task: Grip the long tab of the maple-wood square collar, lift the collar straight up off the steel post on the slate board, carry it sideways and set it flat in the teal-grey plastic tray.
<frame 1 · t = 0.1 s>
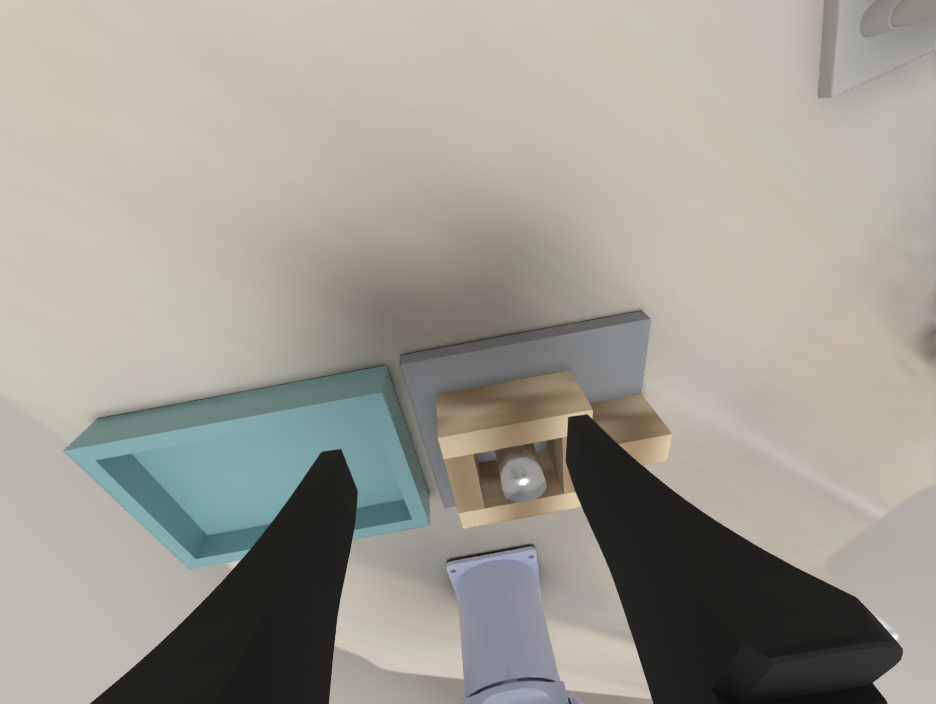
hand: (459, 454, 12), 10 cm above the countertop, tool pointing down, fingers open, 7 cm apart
maple collar: (509, 431, 24), point 1 cm above the countertop, touching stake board
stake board: (506, 420, 25), on the countertop
tray: (284, 461, 25), on the countertop
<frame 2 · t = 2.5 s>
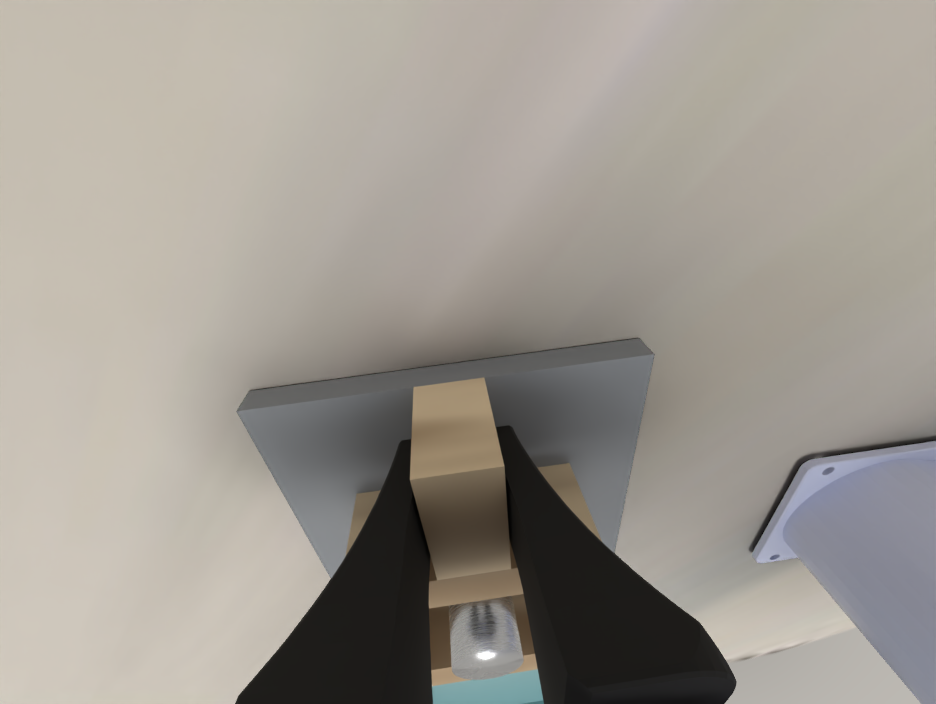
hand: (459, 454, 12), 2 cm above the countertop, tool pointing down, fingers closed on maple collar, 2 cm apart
maple collar: (473, 539, 16), point 1 cm above the countertop, touching gripper, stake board
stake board: (470, 518, 17), on the countertop
tray: (491, 654, 25), on the countertop
when the fingers open (3 cm above the countertop, at t = 10.2 s): maple collar moves 3 cm, resting on tray.
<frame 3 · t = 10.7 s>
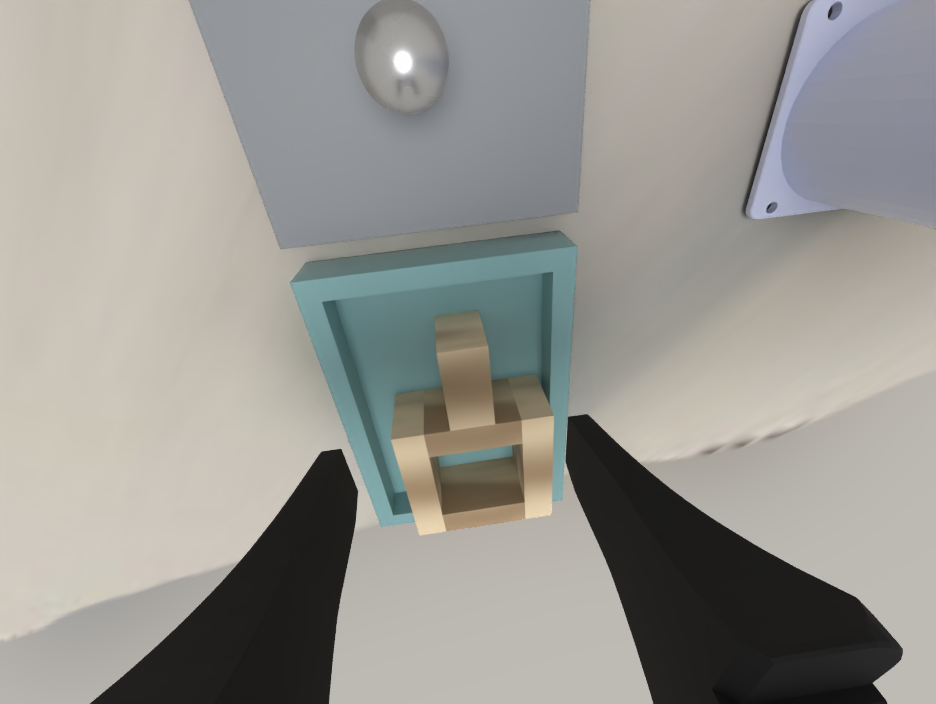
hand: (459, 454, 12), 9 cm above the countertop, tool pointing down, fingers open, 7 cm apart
maple collar: (472, 435, 23), point 1 cm above the countertop, touching tray
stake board: (409, 76, 14), on the countertop
tray: (454, 388, 22), on the countertop
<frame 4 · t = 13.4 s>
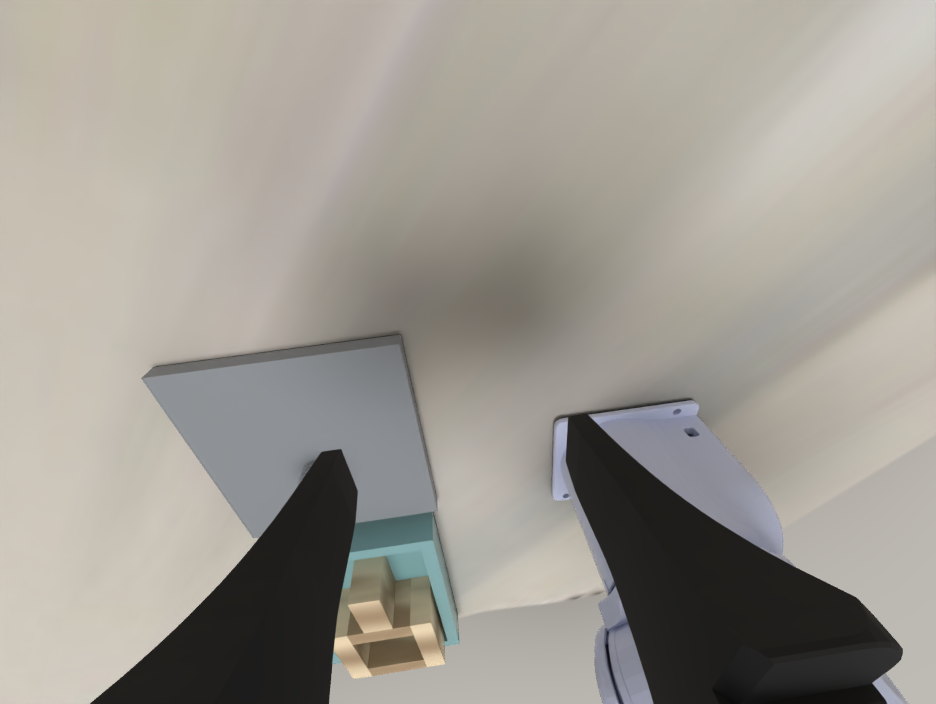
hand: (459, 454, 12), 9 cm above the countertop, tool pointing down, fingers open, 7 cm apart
maple collar: (392, 605, 34), point 1 cm above the countertop, touching tray
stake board: (325, 460, 25), on the countertop
tray: (377, 579, 33), on the countertop
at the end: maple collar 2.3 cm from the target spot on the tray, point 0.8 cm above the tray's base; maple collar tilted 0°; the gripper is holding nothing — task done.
